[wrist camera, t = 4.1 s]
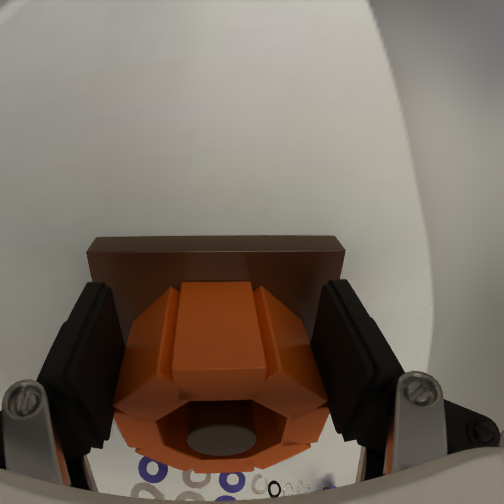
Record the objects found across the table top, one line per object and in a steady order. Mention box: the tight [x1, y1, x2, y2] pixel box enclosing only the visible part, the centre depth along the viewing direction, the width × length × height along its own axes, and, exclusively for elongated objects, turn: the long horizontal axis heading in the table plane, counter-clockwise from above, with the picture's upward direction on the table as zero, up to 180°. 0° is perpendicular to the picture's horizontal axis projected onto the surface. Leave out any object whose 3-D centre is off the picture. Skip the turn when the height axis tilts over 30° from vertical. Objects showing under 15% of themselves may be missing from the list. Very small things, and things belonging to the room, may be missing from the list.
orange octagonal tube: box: [112, 281, 330, 473], centre depth 11 cm, size 7×7×4 cm
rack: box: [86, 236, 345, 456], centre depth 11 cm, size 9×9×6 cm
